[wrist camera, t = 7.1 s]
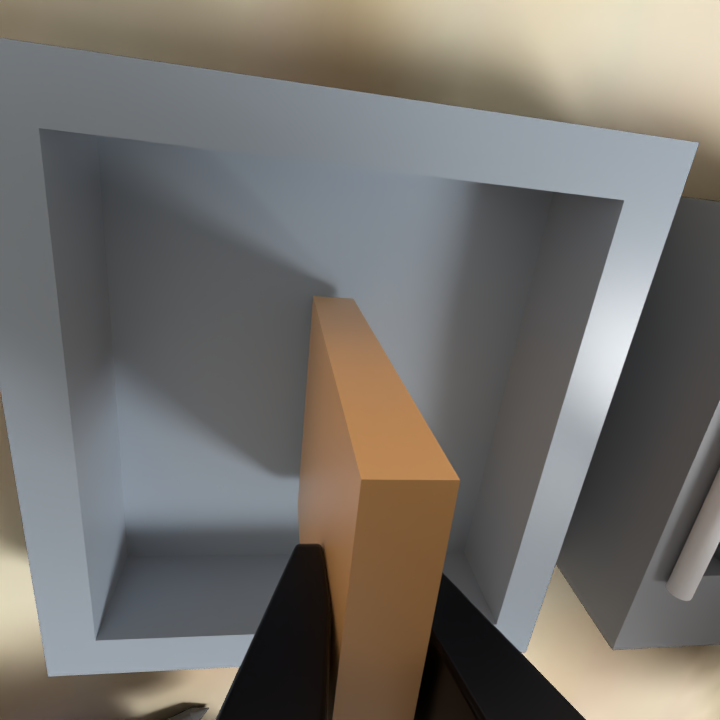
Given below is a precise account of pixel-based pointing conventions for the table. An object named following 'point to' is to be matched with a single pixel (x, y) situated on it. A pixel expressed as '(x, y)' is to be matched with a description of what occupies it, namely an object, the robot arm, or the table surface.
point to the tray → (292, 329)
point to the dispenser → (659, 461)
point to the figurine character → (190, 714)
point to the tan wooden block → (371, 514)
